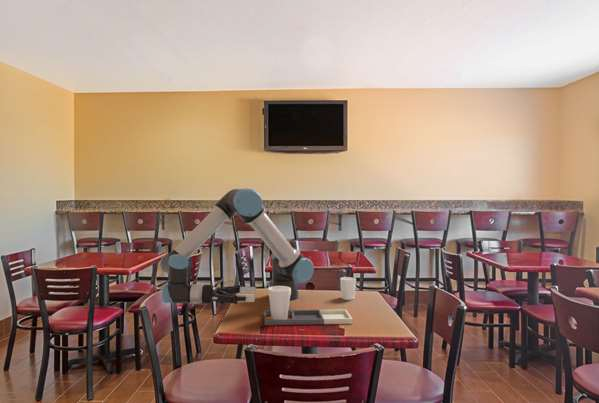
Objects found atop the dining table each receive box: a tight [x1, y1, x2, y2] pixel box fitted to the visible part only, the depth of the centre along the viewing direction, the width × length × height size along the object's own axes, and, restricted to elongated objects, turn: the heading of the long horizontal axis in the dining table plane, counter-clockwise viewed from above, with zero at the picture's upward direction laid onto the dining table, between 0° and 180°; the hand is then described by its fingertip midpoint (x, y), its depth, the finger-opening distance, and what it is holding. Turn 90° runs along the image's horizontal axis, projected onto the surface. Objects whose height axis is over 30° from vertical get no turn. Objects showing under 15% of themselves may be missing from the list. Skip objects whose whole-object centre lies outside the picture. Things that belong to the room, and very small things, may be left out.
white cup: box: [339, 276, 357, 301], centre depth 201 cm, size 8×8×10 cm
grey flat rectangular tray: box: [264, 308, 353, 326], centre depth 166 cm, size 35×13×2 cm, turn 95°
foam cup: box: [267, 286, 291, 320], centre depth 165 cm, size 10×9×13 cm
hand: (255, 294), depth 164 cm, fingers open, 13 cm apart
